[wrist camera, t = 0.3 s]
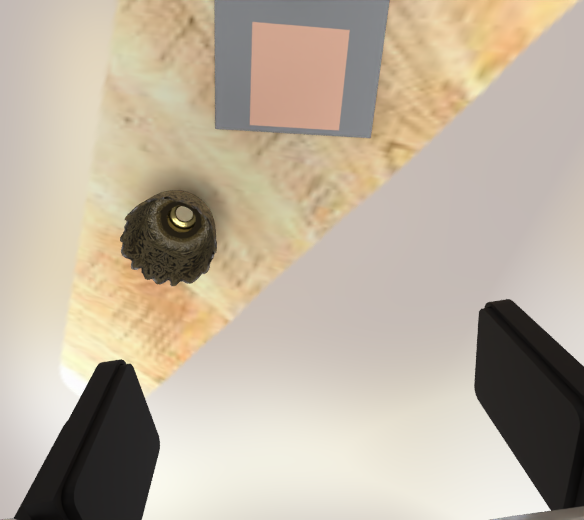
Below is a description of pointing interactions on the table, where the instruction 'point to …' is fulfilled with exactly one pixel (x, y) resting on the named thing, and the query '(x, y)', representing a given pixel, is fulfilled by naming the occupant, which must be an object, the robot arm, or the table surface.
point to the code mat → (298, 65)
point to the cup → (170, 238)
